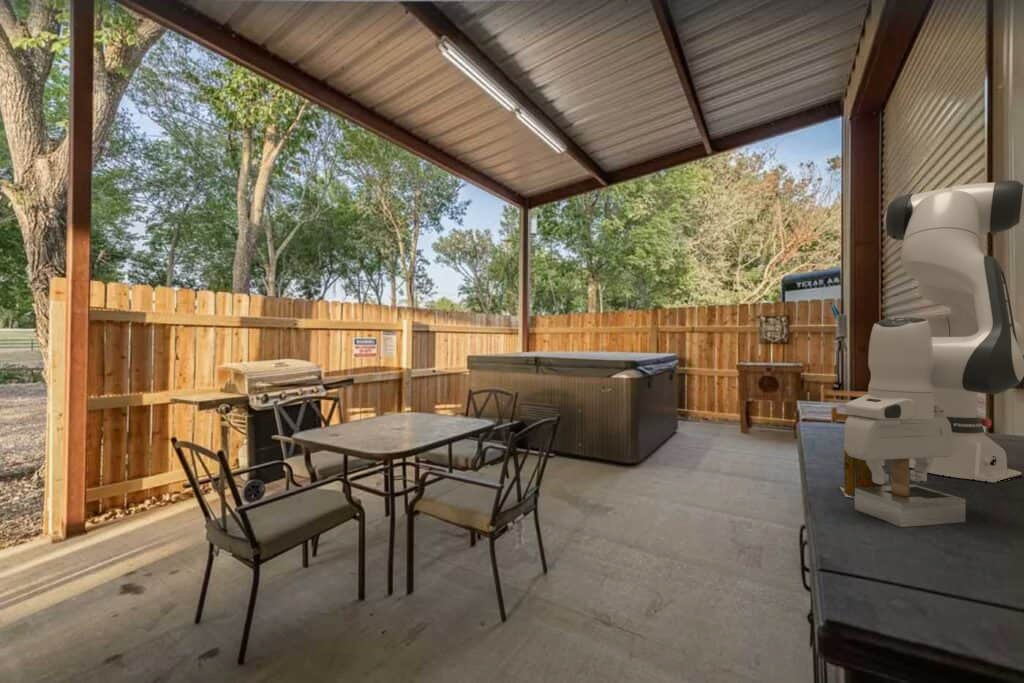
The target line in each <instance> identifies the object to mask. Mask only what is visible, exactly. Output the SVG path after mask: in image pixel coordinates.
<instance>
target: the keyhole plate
mask: <svg viewBox="0 0 1024 683" xmlns="http://www.w3.org/2000/svg"><path fill="white" fill-rule="evenodd" d="M854 510H856V511H859V512H860V513H863V514H866V515H869V516H871V517H875V518H876V517H877V518H876V519H878V520H881V519H882V521H884V520H885V521H884V522H886V521H887V523H889V524H892V525H894V526H897V527H900V528H907V527H908V528H909V527H919V526H932V525H945V524H954V523H955V524H957V523H958V524H959V523H966V498H963V497H959V496H956V495H952V494H949V493H945V492H942V491H939V490H935V489H932V488H930V487H929V488H928V487H925V486H921V485H917V484H915V483H914V484H909V497H906V498H902V497H899V496H896V495H893V494H891V485H882V486H880V487H863V488H855V498H854Z"/></svg>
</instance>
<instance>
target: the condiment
mask: <svg viewBox="0 0 1024 683" xmlns="http://www.w3.org/2000/svg"><path fill="white" fill-rule="evenodd" d="M843 454H844V455H843V457H844V461H843V462H844V464H843V465H844V470H843V471H844V472H843V473H844V476H843V477H844V478H843V479H844V487H842V486H839V488H840V490H841V493H843V492H844V490H845V493H846V494H845V493H843V495H844V497H846V498H851V499H855V497H854V498H853V497H851V496H855V488H863V487H880V486H883V484H877V483H874V482H873V481H872V472H871V470H870V469H869V467H868V465H867V463H866V460H861V459H857V458H854V457H850V456H849V455H848V454H847V452H846V450H845V449H844V453H843ZM844 488H845V489H844ZM848 495H851V496H848Z"/></svg>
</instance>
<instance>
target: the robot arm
mask: <svg viewBox="0 0 1024 683" xmlns="http://www.w3.org/2000/svg"><path fill="white" fill-rule="evenodd" d="M1023 217H1024V184H1023V183H1022V182H1020V181H1018V180H1013V179H1012V180H1009V179H1007V180H1004V179H1003V180H996V181H995V182H978V183H977V182H976V183H968V184H967V183H966V184H959V185H957V184H956V185H952V186H950V187H944V188H938V189H934V190H928V191H924V192H920V193H919V192H918V193H915V194H913V193H910V194H906V195H902V196H899V197H896V198H894V200H892V201H891V202H890V203H889V204H888V206H887V209H886V211H885V213H884V216H883V226H884V230H885V232H886V235H887V236H889V237H890V238H891V239H893V240H897V241H902V245H901V252H900V264H901V268H902V269H903V271H904V272H905V274H906V275H908V276H909V277H911V279H913V280H915V281H917V292H918V294H919V295H920V296H921V298H923V299H924V300H927V301H928V302H932V303H934V304H938V305H940V306H944V307H947V308H948V309H949V310H950V313H949V314H947V315H938V316H937V315H933V316H931V315H930V316H929V315H927V316H926V315H925V316H906V317H895V318H886V319H885V318H884V319H881V320H879V321H877V322H875V323H874V324H873V326H872V329H871V333H870V338H869V345H868V354H867V355H868V358H867V359H868V360H867V361H868V365H867V366H868V368H869V371H870V381H869V383H868V388H867V390H868V391H867V393H866V394H863V395H862V396H860V397H857V398H856V399H853V400H850V401H848V402H846V403H845V405H844V412H845V414H847V415H849V416H848V417H847V418H846V420H845V422H844V435H843V436H844V437H843V438H844V439H843V440H844V442H843V443H844V445H843V446H844V451H845V450H846V452H847V454H848V455H849V456H850V457H854V458H857V459H861V460H866V463H867V465H868V467H869V469H870V470H871V472H872V481H873V482H874V483H877V484H882V485H888V484H889V482H890V481H889V479H890V477H889V474H887V473H886V472H885V470H884V469H883V467H884V466H885V460H890V461H891V459H909V468H911V470H910V469H909V480H910V481H913V482H917V483H926V482H927V481H928V473H929V474H933V475H938V476H943V475H944V476H945V477H949V476H950V477H951V478H958V479H965V480H966V479H967V480H973V479H974V480H975V481H981V482H985V481H987V482H986V483H998V482H997V481H999V482H1001V481H1000V480H1003V479H1006V478H1009V477H1013V476H1017V475H1020V474H1022V472H1021V471H1019V470H1016V469H1012V468H1008V466H1007V465H1008V462H1007V461H1008V460H1007V452H1006V451H1005V450H1004V448H1002V447H1001V446H1000V445H999V444H997V443H996V442H995V441H994V440H992V439H991V438H990V437H988V436H987V435H986V434H985V433H984V432H985V430H984V427H986V428H990V427H991V426H992V424H993V422H992V420H991V418H982V417H979V416H978V411H979V409H978V407H979V406H978V402H979V401H978V399H979V398H978V397H979V395H978V393H981V394H987V395H988V394H989V395H994V396H995V395H999V394H1002V393H1004V392H1007V391H1009V390H1011V389H1012V388H1014V387H1016V386H1017V385H1020V383H1022V381H1023V378H1024V355H1023V353H1022V351H1021V349H1022V347H1023V346H1024V329H1023V327H1022V326H1021V324H1020V323H1018V321H1017V320H1015V319H1014V317H1013V316H1014V315H1013V311H1012V305H1011V301H1010V294H1009V289H1008V285H1007V280H1006V276H1005V273H1004V270H1003V268H1002V266H1001V264H1000V263H999V261H998V260H997V259H996V257H993V256H990V255H986V236H985V234H986V233H990V234H991V237H994V236H996V235H997V233H1001V232H1005V231H1008V230H1011V229H1012V228H1013V227H1015V226H1017V225H1019V224H1020V223H1021V222H1020V221H1021V220H1022V219H1023ZM913 468H914V469H913ZM1007 469H1008V470H1007ZM1022 475H1023V474H1022Z"/></svg>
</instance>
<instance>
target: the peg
mask: <svg viewBox="0 0 1024 683" xmlns="http://www.w3.org/2000/svg"><path fill="white" fill-rule="evenodd" d="M890 461H891V463H890V464H891V468H890V470H891V471H890V472H891V477H890V478H891V480H890V481H891V482H890V484H891V485H890V486H891V494H893V495H896V496H899V497H902V498H906V497H909V485H910V467H909V459H891V460H890Z"/></svg>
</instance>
